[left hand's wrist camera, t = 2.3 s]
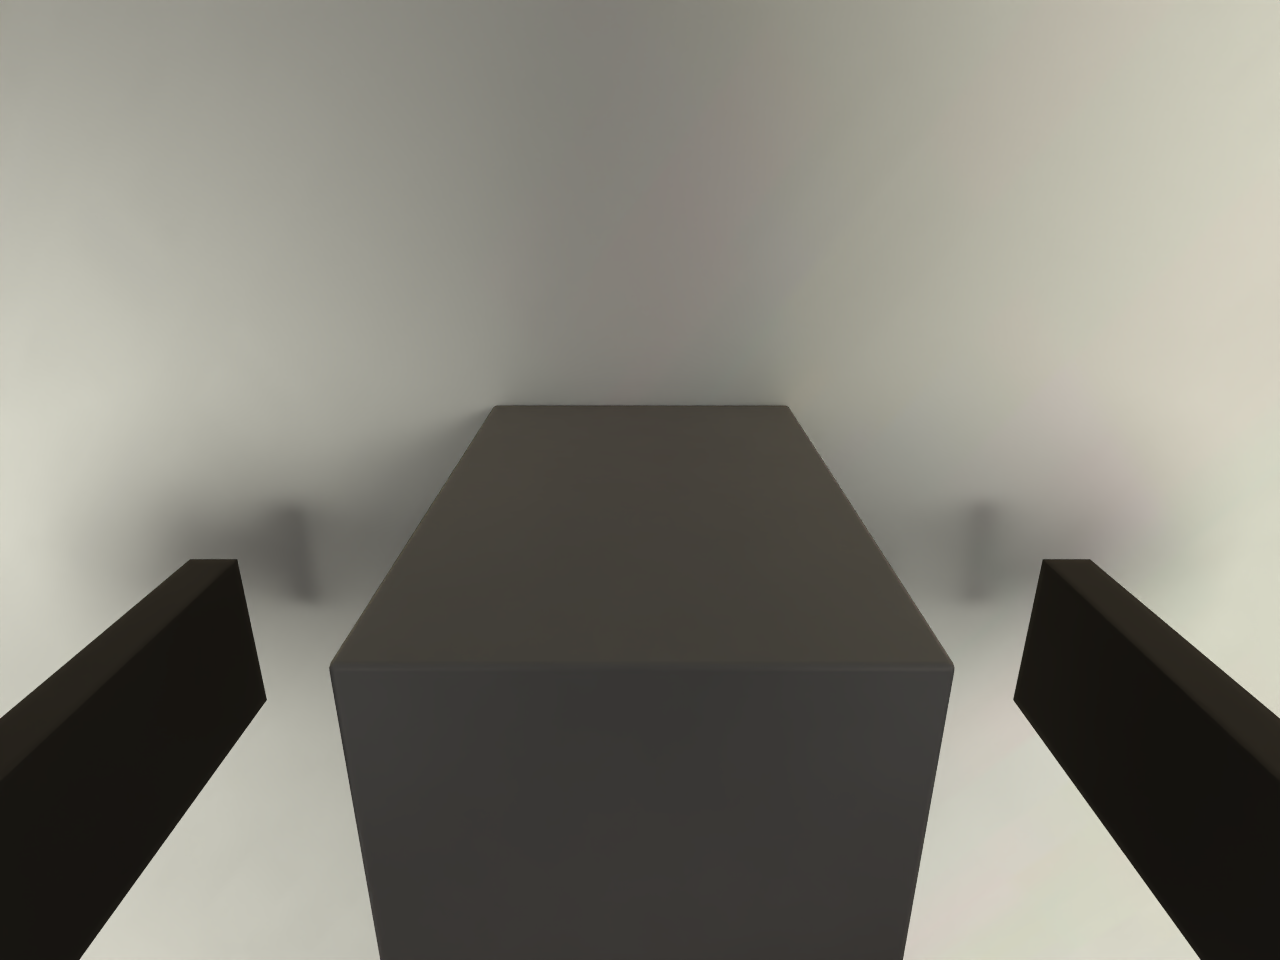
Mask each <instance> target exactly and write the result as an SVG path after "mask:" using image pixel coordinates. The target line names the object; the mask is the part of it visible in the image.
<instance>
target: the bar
mask: <svg viewBox="0 0 1280 960" xmlns="http://www.w3.org/2000/svg"><path fill="white" fill-rule="evenodd" d="M329 669H330V676H331V682H332V687H333V693H334V699H335V704H336V710H337V716H338V721H339V727H340V733H341V738H342V744H343V750H344V756H345V761H346V767H347V773H348V778H349V784H350V790H351V795H352V801H353V807H354V812H355V818H356V824H357V829H358V835H359V841H360V846H361V852H362V858H363V864H364V869H365V875H366V881H367V886H368V892H369V898H370V903H371V909H372V915H373V920H374V926H375V932H376V937H377V943H378V949H379V954H380V960H903V956H904V950H905V944H906V939H907V933H908V928H909V922H910V916H911V911H912V905H913V899H914V894H915V888H916V883H917V877H918V871H919V866H920V860H921V854H922V849H923V843H924V838H925V832H926V826H927V821H928V815H929V810H930V804H931V798H932V793H933V787H934V781H935V776H936V770H937V765H938V759H939V753H940V748H941V742H942V736H943V731H944V725H945V720H946V714H947V708H948V703H949V697H950V692H951V686H952V680H953V675H954V665H953V662H952V661H951V659H950V658H949V656H948V655H947V653H946V652H945V650H944V648H943V647H942V645H941V644H940V642H939V641H938V639H937V637H936V636H935V634H934V633H933V631H932V630H931V628H930V627H929V625H928V623H927V622H926V620H925V619H924V617H923V616H922V614H921V613H920V611H919V609H918V608H917V606H916V605H915V603H914V602H913V600H912V599H911V597H910V595H909V594H908V592H907V591H906V589H905V588H904V586H903V585H902V583H901V581H900V580H899V578H898V577H897V575H896V574H895V572H894V571H893V569H892V567H891V566H890V564H889V563H888V561H887V560H886V558H885V557H884V555H883V553H882V552H881V550H880V549H879V547H878V546H877V544H876V543H875V541H874V539H873V538H872V536H871V535H870V533H869V532H868V530H867V528H866V527H865V525H864V524H863V522H862V521H861V519H860V518H859V516H858V514H857V513H856V511H855V510H854V508H853V507H852V505H851V504H850V502H849V500H848V499H847V497H846V496H845V494H844V493H843V491H842V490H841V488H840V486H839V485H838V483H837V482H836V480H835V479H834V477H833V476H832V474H831V472H830V471H829V469H828V468H827V466H826V465H825V463H824V462H823V460H822V458H821V457H820V455H819V454H818V452H817V451H816V449H815V448H814V446H813V444H812V443H811V441H810V440H809V438H808V437H807V435H806V434H805V432H804V430H803V429H802V427H801V426H800V424H799V423H798V421H797V420H796V418H795V416H794V415H793V413H792V412H791V410H790V409H789V407H787V406H495V407H494V408H493V409H492V411H491V412H490V414H489V416H488V417H487V419H486V420H485V422H484V423H483V425H482V427H481V428H480V430H479V431H478V433H477V434H476V436H475V438H474V439H473V441H472V442H471V444H470V445H469V447H468V449H467V450H466V452H465V453H464V455H463V456H462V458H461V459H460V461H459V463H458V464H457V466H456V467H455V469H454V470H453V472H452V474H451V475H450V477H449V478H448V480H447V481H446V483H445V485H444V486H443V488H442V489H441V491H440V492H439V494H438V496H437V497H436V499H435V500H434V502H433V503H432V505H431V507H430V508H429V510H428V511H427V513H426V514H425V516H424V517H423V519H422V521H421V522H420V524H419V525H418V527H417V528H416V530H415V532H414V533H413V535H412V536H411V538H410V539H409V541H408V543H407V544H406V546H405V547H404V549H403V550H402V552H401V554H400V555H399V557H398V558H397V560H396V561H395V563H394V564H393V566H392V568H391V569H390V571H389V572H388V574H387V575H386V577H385V579H384V580H383V582H382V583H381V585H380V586H379V588H378V590H377V591H376V593H375V594H374V596H373V597H372V599H371V601H370V602H369V604H368V605H367V607H366V608H365V610H364V611H363V613H362V615H361V616H360V618H359V619H358V621H357V622H356V624H355V626H354V627H353V629H352V630H351V632H350V633H349V635H348V637H347V638H346V640H345V641H344V643H343V644H342V646H341V648H340V649H339V651H338V652H337V654H336V655H335V657H334V659H333V660H332V662H331V664H330V667H329Z"/></svg>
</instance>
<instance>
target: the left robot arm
mask: <svg viewBox="0 0 1280 960" xmlns="http://www.w3.org/2000/svg"><path fill="white" fill-rule="evenodd" d="M266 700H267V699H266V694H265V689H264V684H263V680H262V675H261V670H260V665H259V661H258V656H257V651H256V647H255V642H254V637H253V632H252V628H251V623H250V618H249V613H248V609H247V604H246V599H245V594H244V590H243V585H242V580H241V575H240V571H239V566H238V561H237V559H190V560H189V561H188V562H186V563H185V564H184V565H183V566H182V567H180V568H179V569H178V570H177V571H176V572H174V573H173V574H172V575H171V576H170V577H169V578H167V579H166V580H165V581H164V582H163V583H161V584H160V585H159V586H158V587H157V588H155V589H154V590H153V591H152V592H151V593H149V594H148V595H147V596H146V597H145V598H143V599H142V600H141V601H140V602H139V603H138V604H136V605H135V606H134V607H133V608H132V609H130V610H129V611H128V612H127V613H126V614H124V615H123V616H122V617H121V618H120V619H118V620H117V621H116V622H115V623H114V624H112V625H111V626H110V627H109V628H108V629H106V630H105V631H104V632H103V633H102V634H101V635H99V636H98V637H97V638H96V639H95V640H93V641H92V642H91V643H90V644H89V645H87V646H86V647H85V648H84V649H83V650H81V651H80V652H79V653H78V654H77V655H75V656H74V657H73V658H72V659H71V660H70V661H68V662H67V663H66V664H65V665H64V666H62V667H61V668H60V669H59V670H58V671H56V672H55V673H54V674H53V675H52V676H50V677H49V678H48V679H47V680H46V681H44V682H43V683H42V684H41V685H40V686H38V687H37V688H36V689H35V690H34V691H33V692H31V693H30V694H29V695H28V696H27V697H25V698H24V699H23V700H22V701H21V702H19V703H18V704H17V705H16V706H15V707H13V708H12V709H11V710H10V711H9V712H7V713H6V714H5V715H4V716H3V717H1V718H0V960H79V959H80V958H81V957H82V955H83V954H84V952H85V951H86V950H87V948H88V947H89V946H90V944H91V943H92V941H93V940H94V939H95V937H96V936H97V934H98V933H99V932H100V930H101V929H102V928H103V926H104V925H105V923H106V922H107V921H108V919H109V918H110V916H111V915H112V914H113V912H114V911H115V910H116V908H117V907H118V905H119V904H120V903H121V901H122V900H123V898H124V897H125V896H126V894H127V893H128V891H129V890H130V889H131V887H132V886H133V885H134V883H135V882H136V880H137V879H138V878H139V876H140V875H141V873H142V872H143V871H144V869H145V868H146V867H147V865H148V864H149V862H150V861H151V860H152V858H153V857H154V855H155V854H156V853H157V851H158V850H159V849H160V847H161V846H162V844H163V843H164V842H165V840H166V839H167V837H168V836H169V835H170V833H171V832H172V830H173V829H174V828H175V826H176V825H177V824H178V822H179V821H180V819H181V818H182V817H183V815H184V814H185V812H186V811H187V810H188V808H189V807H190V806H191V804H192V803H193V801H194V800H195V799H196V797H197V796H198V794H199V793H200V792H201V790H202V789H203V788H204V786H205V785H206V783H207V782H208V781H209V779H210V778H211V776H212V775H213V774H214V772H215V771H216V769H217V768H218V767H219V765H220V764H221V763H222V761H223V760H224V758H225V757H226V756H227V754H228V753H229V751H230V750H231V749H232V747H233V746H234V745H235V743H236V742H237V740H238V739H239V738H240V736H241V735H242V733H243V732H244V731H245V729H246V728H247V727H248V725H249V724H250V722H251V721H252V720H253V718H254V717H255V715H256V714H257V713H258V711H259V710H260V708H261V707H262V706H263V704H264V703H265V702H266ZM1013 700H1014V702H1015V703H1016V704H1017V706H1018V707H1019V708H1020V710H1021V711H1022V713H1023V714H1024V715H1025V717H1026V718H1027V720H1028V721H1029V722H1030V724H1031V725H1032V727H1033V728H1034V729H1035V731H1036V732H1037V733H1038V735H1039V736H1040V738H1041V739H1042V740H1043V742H1044V743H1045V745H1046V746H1047V747H1048V749H1049V750H1050V751H1051V753H1052V754H1053V756H1054V757H1055V758H1056V760H1057V761H1058V763H1059V764H1060V765H1061V767H1062V768H1063V769H1064V771H1065V772H1066V774H1067V775H1068V776H1069V778H1070V779H1071V781H1072V782H1073V783H1074V785H1075V786H1076V788H1077V789H1078V790H1079V792H1080V793H1081V794H1082V796H1083V797H1084V799H1085V800H1086V801H1087V803H1088V804H1089V806H1090V807H1091V808H1092V810H1093V811H1094V812H1095V814H1096V815H1097V817H1098V818H1099V819H1100V821H1101V822H1102V824H1103V825H1104V826H1105V828H1106V829H1107V830H1108V832H1109V833H1110V835H1111V836H1112V837H1113V839H1114V840H1115V842H1116V843H1117V844H1118V846H1119V847H1120V849H1121V850H1122V851H1123V853H1124V854H1125V855H1126V857H1127V858H1128V860H1129V861H1130V862H1131V864H1132V865H1133V867H1134V868H1135V869H1136V871H1137V872H1138V873H1139V875H1140V876H1141V878H1142V879H1143V880H1144V882H1145V883H1146V885H1147V886H1148V887H1149V889H1150V890H1151V891H1152V893H1153V894H1154V896H1155V897H1156V898H1157V900H1158V901H1159V903H1160V904H1161V905H1162V907H1163V908H1164V910H1165V911H1166V912H1167V914H1168V915H1169V916H1170V918H1171V919H1172V921H1173V922H1174V923H1175V925H1176V926H1177V928H1178V929H1179V930H1180V932H1181V933H1182V934H1183V936H1184V937H1185V939H1186V940H1187V941H1188V943H1189V944H1190V946H1191V947H1192V948H1193V950H1194V951H1195V952H1196V954H1197V955H1198V957H1199V958H1200V959H1201V960H1280V718H1279V717H1277V716H1276V715H1275V714H1274V713H1273V712H1271V711H1270V710H1269V709H1268V708H1267V707H1265V706H1264V705H1263V704H1262V703H1261V702H1259V701H1258V700H1257V699H1256V698H1255V697H1253V696H1252V695H1251V694H1250V693H1249V692H1247V691H1246V690H1245V689H1244V688H1243V687H1242V686H1240V685H1239V684H1238V683H1237V682H1236V681H1234V680H1233V679H1232V678H1231V677H1230V676H1228V675H1227V674H1226V673H1225V672H1224V671H1222V670H1221V669H1220V668H1219V667H1218V666H1216V665H1215V664H1214V663H1213V662H1212V661H1210V660H1209V659H1208V658H1207V657H1206V656H1205V655H1203V654H1202V653H1201V652H1200V651H1199V650H1197V649H1196V648H1195V647H1194V646H1193V645H1191V644H1190V643H1189V642H1188V641H1187V640H1185V639H1184V638H1183V637H1182V636H1181V635H1179V634H1178V633H1177V632H1176V631H1175V630H1174V629H1172V628H1171V627H1170V626H1169V625H1168V624H1166V623H1165V622H1164V621H1163V620H1162V619H1160V618H1159V617H1158V616H1157V615H1156V614H1154V613H1153V612H1152V611H1151V610H1150V609H1148V608H1147V607H1146V606H1145V605H1144V604H1142V603H1141V602H1140V601H1139V600H1138V599H1137V598H1135V597H1134V596H1133V595H1132V594H1131V593H1129V592H1128V591H1127V590H1126V589H1125V588H1123V587H1122V586H1121V585H1120V584H1119V583H1117V582H1116V581H1115V580H1114V579H1113V578H1111V577H1110V576H1109V575H1108V574H1107V573H1106V572H1104V571H1103V570H1102V569H1101V568H1100V567H1098V566H1097V565H1096V564H1095V563H1094V562H1092V561H1091V560H1090V559H1043V561H1042V566H1041V571H1040V575H1039V580H1038V585H1037V590H1036V594H1035V599H1034V604H1033V609H1032V613H1031V618H1030V623H1029V628H1028V632H1027V637H1026V642H1025V646H1024V651H1023V656H1022V661H1021V665H1020V670H1019V675H1018V680H1017V684H1016V689H1015V694H1014V699H1013Z"/></svg>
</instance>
